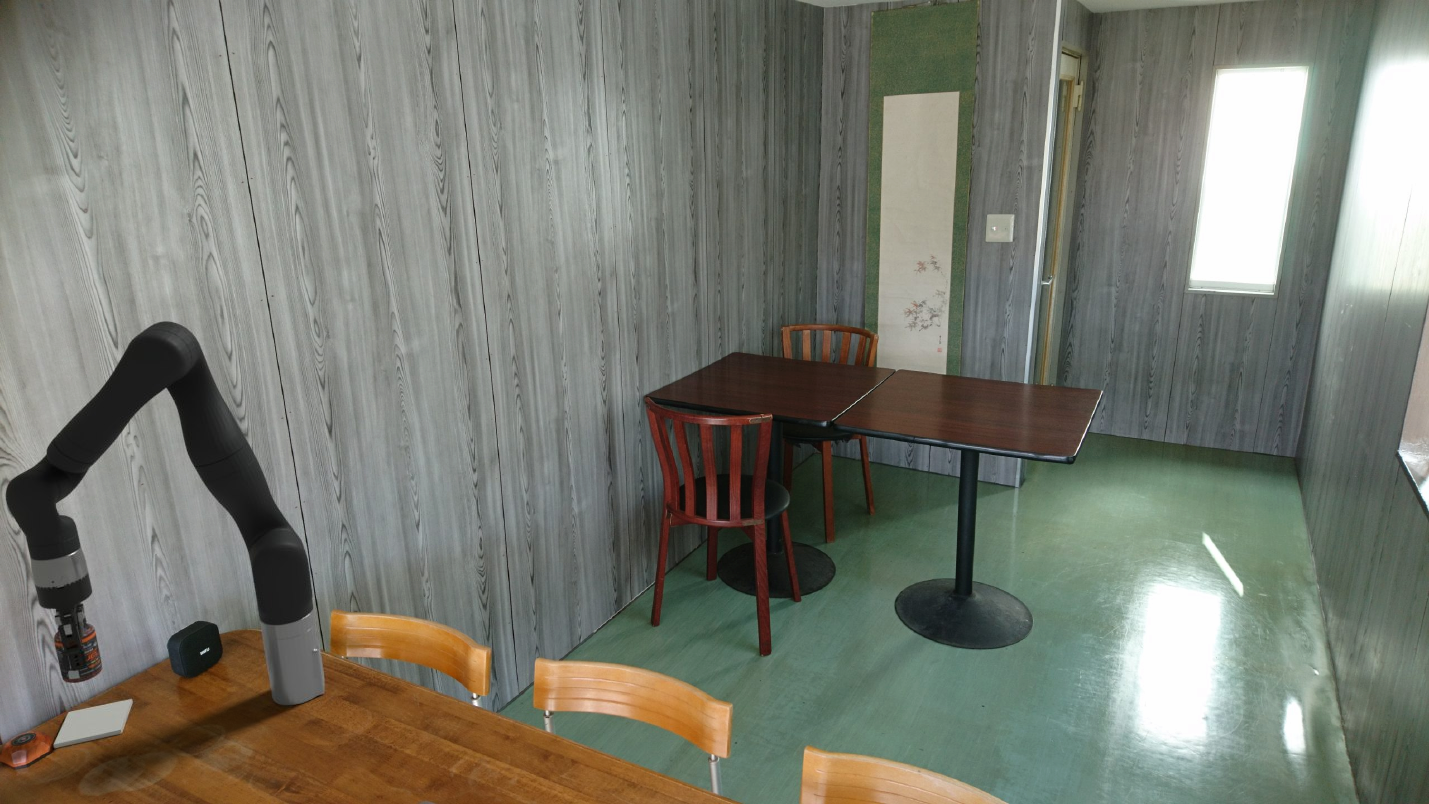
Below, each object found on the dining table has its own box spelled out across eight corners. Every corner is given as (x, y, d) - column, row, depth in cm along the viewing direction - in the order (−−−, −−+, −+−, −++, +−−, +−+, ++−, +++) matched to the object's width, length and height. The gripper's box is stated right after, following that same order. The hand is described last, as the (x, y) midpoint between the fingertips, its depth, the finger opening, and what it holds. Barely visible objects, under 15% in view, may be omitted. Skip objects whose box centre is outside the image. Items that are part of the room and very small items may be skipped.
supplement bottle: (82, 686, 149) (69, 629, 146) (54, 682, 150) (40, 625, 147) (111, 667, 155) (99, 612, 152) (84, 664, 156) (72, 609, 153)
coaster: (132, 702, 162) (131, 698, 162) (121, 733, 153) (120, 729, 153) (69, 715, 158) (68, 712, 158) (54, 748, 149) (53, 744, 149)
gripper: (37, 565, 151) (56, 648, 156) (30, 598, 140) (51, 686, 144) (88, 554, 155) (106, 636, 160) (86, 586, 144) (105, 672, 148)
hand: (80, 659), depth 152 cm, fingers closed on supplement bottle, 6 cm apart
